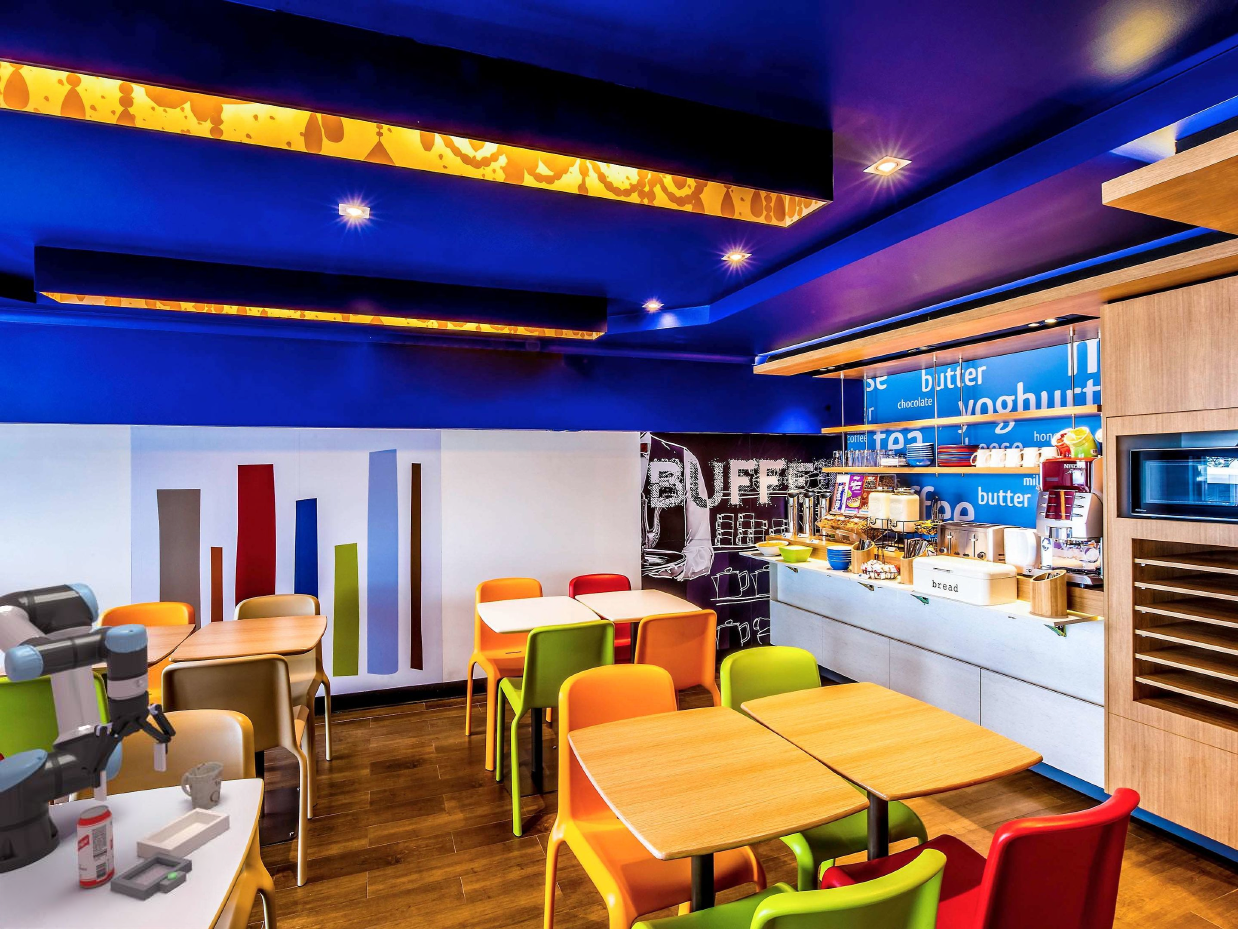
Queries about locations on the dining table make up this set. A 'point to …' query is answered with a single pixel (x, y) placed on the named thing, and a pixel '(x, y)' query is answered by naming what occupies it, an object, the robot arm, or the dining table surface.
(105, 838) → the beer can
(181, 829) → the cream rectangular tray
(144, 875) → the plate
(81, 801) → the dining table surface
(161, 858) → the frame
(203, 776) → the mug
